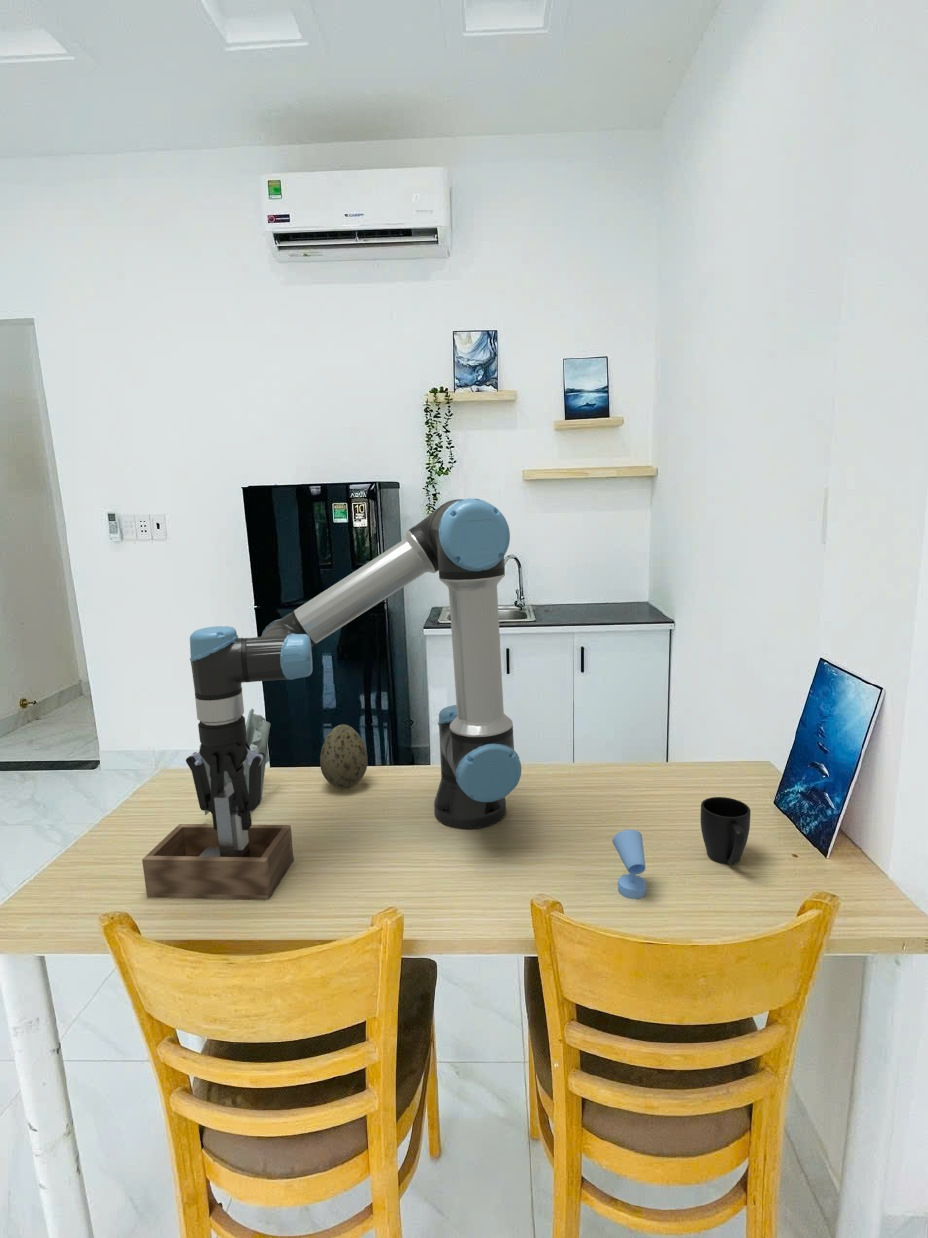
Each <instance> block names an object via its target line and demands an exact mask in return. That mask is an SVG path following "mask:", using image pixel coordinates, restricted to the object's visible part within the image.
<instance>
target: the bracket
mask: <svg viewBox="0 0 928 1238" xmlns="http://www.w3.org/2000/svg"><path fill="white" fill-rule="evenodd" d="M254 712H255V709H253V708H250V710H249V712H248V715H247V719H246V722H245V724H246V734H247V737H246V741H247V743H248V745H249V747H250V750H251V751H253V752H256V753H258V754H259V753H260V752H262V753H264V754H265V758H264V760H263V763H262V765H261V801H262V800H263V799H262V798H263V791H264V782H265V781H264V780H265V773H266V772H265V771H266V764H267V763H269V762H270V755H269V745H268V743H269V736H270V735H269V734H270V728H271V723H270V722H269V721H266V718H264V717H263V716H262V715H260V714H256V713H254ZM200 748H201V744H200V745H199V750H200ZM204 764H205V768H206V772H207V777H208V781H209V786H210V790H211V777H210V766H209V765H208V764H207V762H206V761H205V760H204ZM243 766H244V776H245V781H246V785H247V789H248V794H249V769H250V765H248V758H247V757H246V759H245V760H244V762H243ZM229 783H232V781H231V778H229V775H228V772H226V771H225V772H224V788H225V787H226V786H227V785H228V784H229ZM259 805H261V803H260V804H259ZM259 805H258V807H259ZM250 812H251V813H252V812H253V811H250ZM209 813H211V812H210V811H208V810H205V811H204V816H207V815H208V814H209Z"/></svg>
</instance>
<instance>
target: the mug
mask: <svg viewBox="0 0 928 1238" xmlns="http://www.w3.org/2000/svg"><path fill="white" fill-rule="evenodd" d="M700 803H701V804H700V828H701V830H700V831H701V835H702V839H703V843H704V847H705V850H706V855H707V857H708V858H709V859H710V860H712V861H713V862H716V863H718V864H721V865H722V864H724V865H730V866H731V865H732V866H733V865H736V864H737V863H739V862H740V861H741V857H742V855H743V853H744V850H745V848H746V845H747V842H748V838H749V833H750V829H751V828H750V827H751V811H752V810H751V808H750V806H749V805H748V804H746V803H744V802H742V801H741V800H737V799H734V798H731V797H727V796H726V797H725V796H714V797H709V798H705V799H703V800H702V802H700Z"/></svg>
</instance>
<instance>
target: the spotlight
mask: <svg viewBox="0 0 928 1238" xmlns="http://www.w3.org/2000/svg"><path fill="white" fill-rule="evenodd" d="M612 844H613V846H614V848H615V850H616V851H617V853H618V856H619V857H620V859H621V861H622V863H623V865H624V867H625V868H626V870H627V873H628V874H622V875H621V876H620V877H619V878H618V879H617V892H618V893H619V894H620V895H621V896H622V897H624V898H626V899H630V900H631V899H632V900H639V899H642V898H643V897H645V896H646V894H647V883H646V880H645V879H644V878H643V877H641V876H640V874H643V873H644V872H645V871H646V869H647V868H646V858H645V852H644V843H643V836H642V833H641V832H640V831H639V830H636V829H625V830H622V831H620V832H618V833H616V834H615V835H614V836H613V838H612Z"/></svg>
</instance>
